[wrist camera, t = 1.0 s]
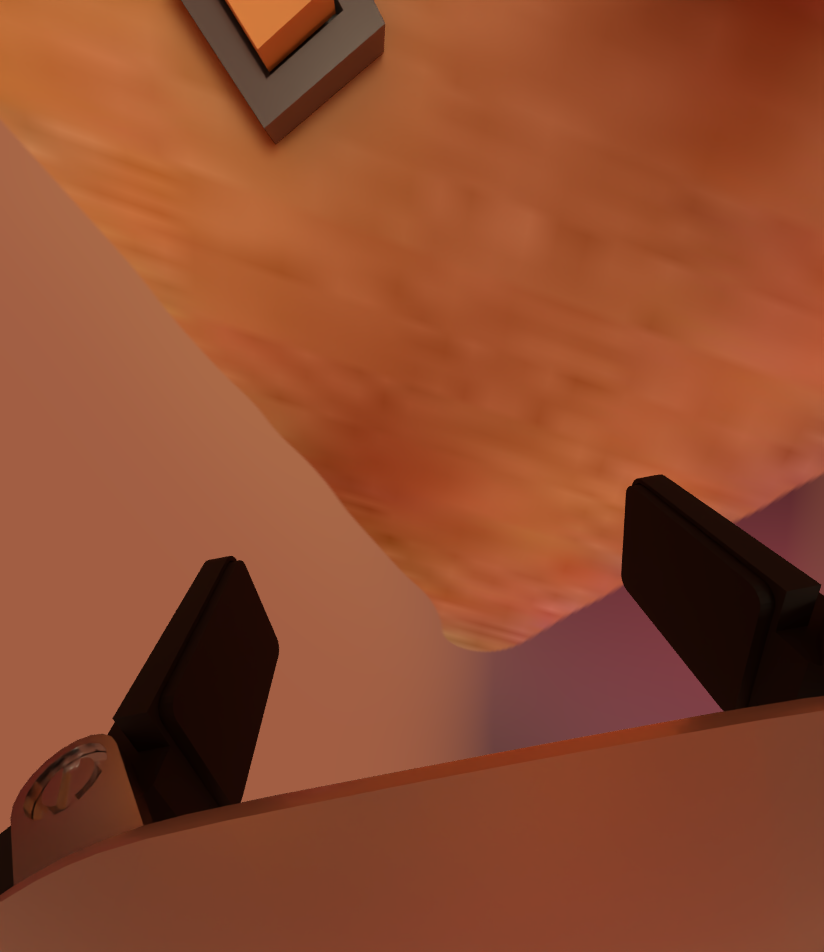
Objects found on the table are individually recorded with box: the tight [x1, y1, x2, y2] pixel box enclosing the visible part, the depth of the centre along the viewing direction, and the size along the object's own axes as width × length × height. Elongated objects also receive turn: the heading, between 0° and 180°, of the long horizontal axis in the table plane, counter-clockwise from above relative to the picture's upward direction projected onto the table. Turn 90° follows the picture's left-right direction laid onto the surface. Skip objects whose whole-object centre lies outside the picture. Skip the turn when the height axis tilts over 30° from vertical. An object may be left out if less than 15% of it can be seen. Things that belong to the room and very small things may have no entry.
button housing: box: [181, 0, 385, 144], centre depth 22 cm, size 8×8×3 cm
